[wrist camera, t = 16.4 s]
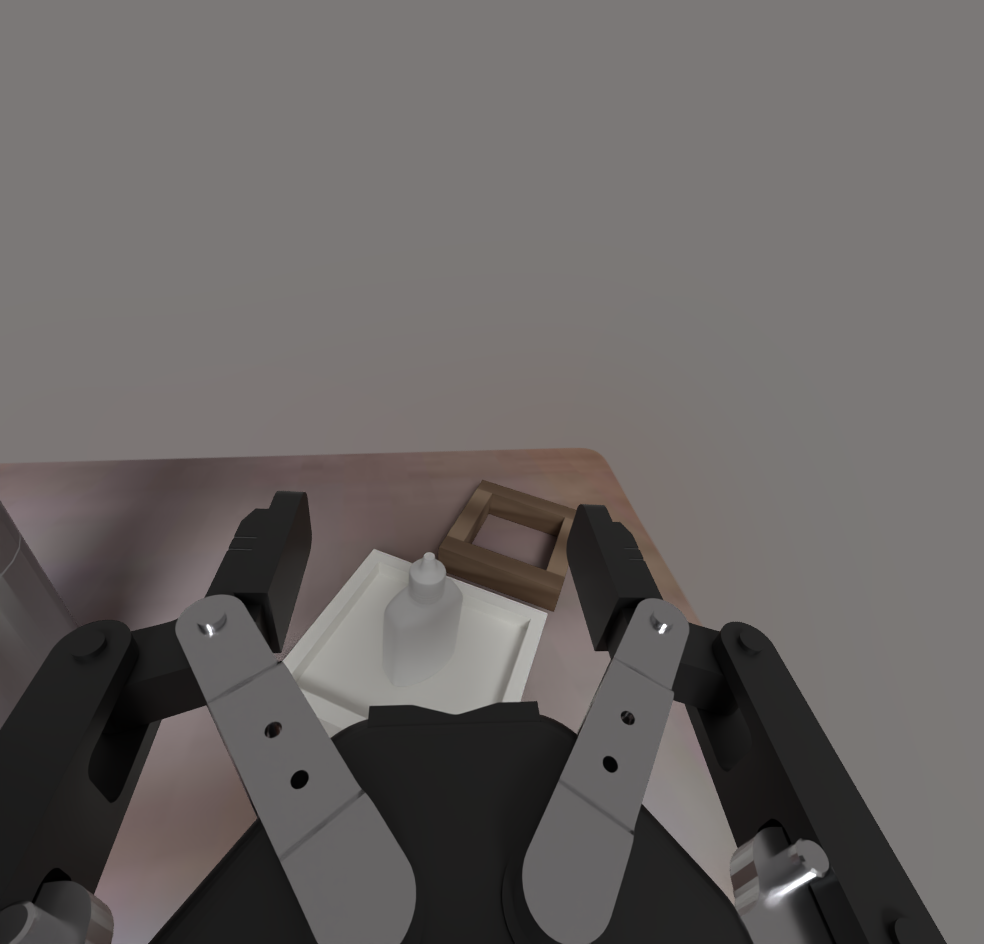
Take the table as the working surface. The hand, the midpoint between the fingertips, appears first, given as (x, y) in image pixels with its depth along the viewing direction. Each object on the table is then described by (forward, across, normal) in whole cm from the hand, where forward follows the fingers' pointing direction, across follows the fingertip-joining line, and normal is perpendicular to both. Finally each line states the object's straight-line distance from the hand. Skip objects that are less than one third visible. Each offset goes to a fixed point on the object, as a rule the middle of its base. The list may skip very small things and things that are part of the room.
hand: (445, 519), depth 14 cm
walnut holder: (+24, -10, +26) cm, 37 cm away
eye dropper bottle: (+11, 0, +25) cm, 27 cm away
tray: (+11, 0, +26) cm, 28 cm away
